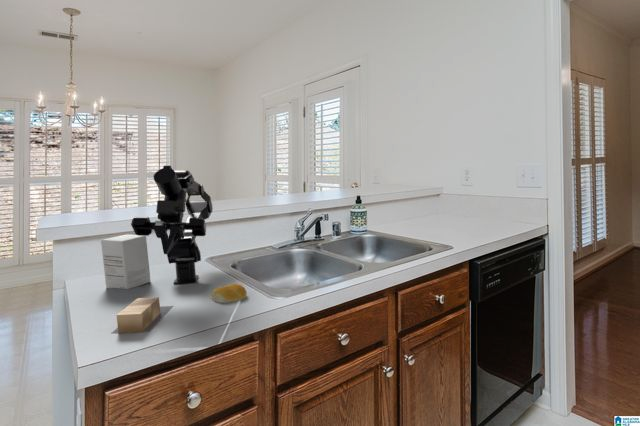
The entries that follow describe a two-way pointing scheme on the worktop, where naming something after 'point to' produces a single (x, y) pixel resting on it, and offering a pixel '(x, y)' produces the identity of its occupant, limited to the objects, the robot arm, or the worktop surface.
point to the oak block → (138, 315)
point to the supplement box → (125, 261)
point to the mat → (162, 313)
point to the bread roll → (229, 293)
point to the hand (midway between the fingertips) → (165, 253)
